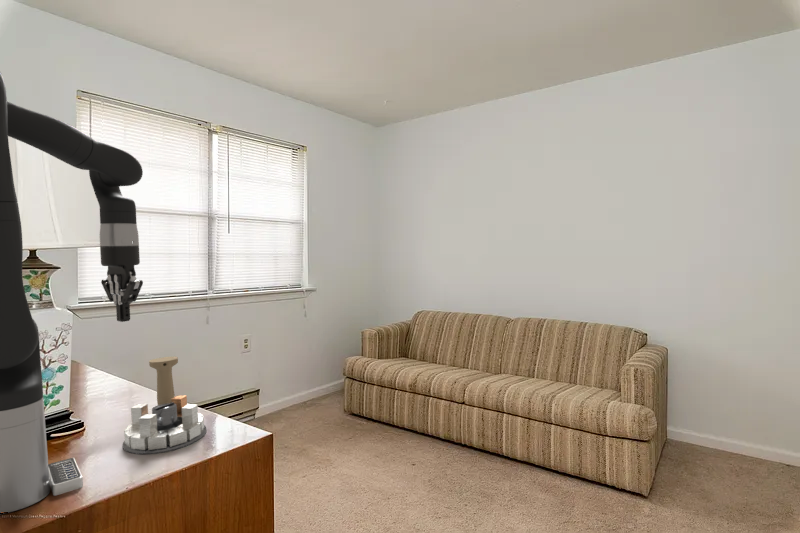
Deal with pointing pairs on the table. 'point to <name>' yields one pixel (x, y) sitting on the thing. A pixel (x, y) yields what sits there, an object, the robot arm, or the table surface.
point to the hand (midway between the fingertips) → (123, 320)
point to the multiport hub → (65, 476)
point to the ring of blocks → (165, 428)
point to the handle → (164, 378)
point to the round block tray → (147, 436)
